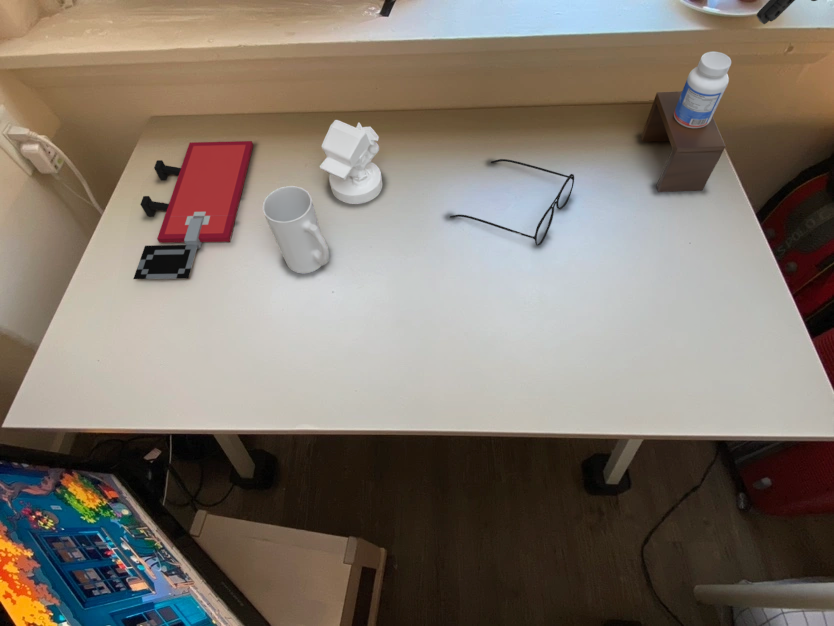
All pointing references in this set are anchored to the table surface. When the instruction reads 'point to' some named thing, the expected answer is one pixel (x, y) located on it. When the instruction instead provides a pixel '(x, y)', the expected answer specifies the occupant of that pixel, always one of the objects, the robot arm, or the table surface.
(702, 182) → the walnut shelf
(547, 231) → the glasses
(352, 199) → the character figurine
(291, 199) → the mug
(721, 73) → the pill bottle
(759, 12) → the robot arm
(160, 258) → the red board with handle
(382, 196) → the table surface
